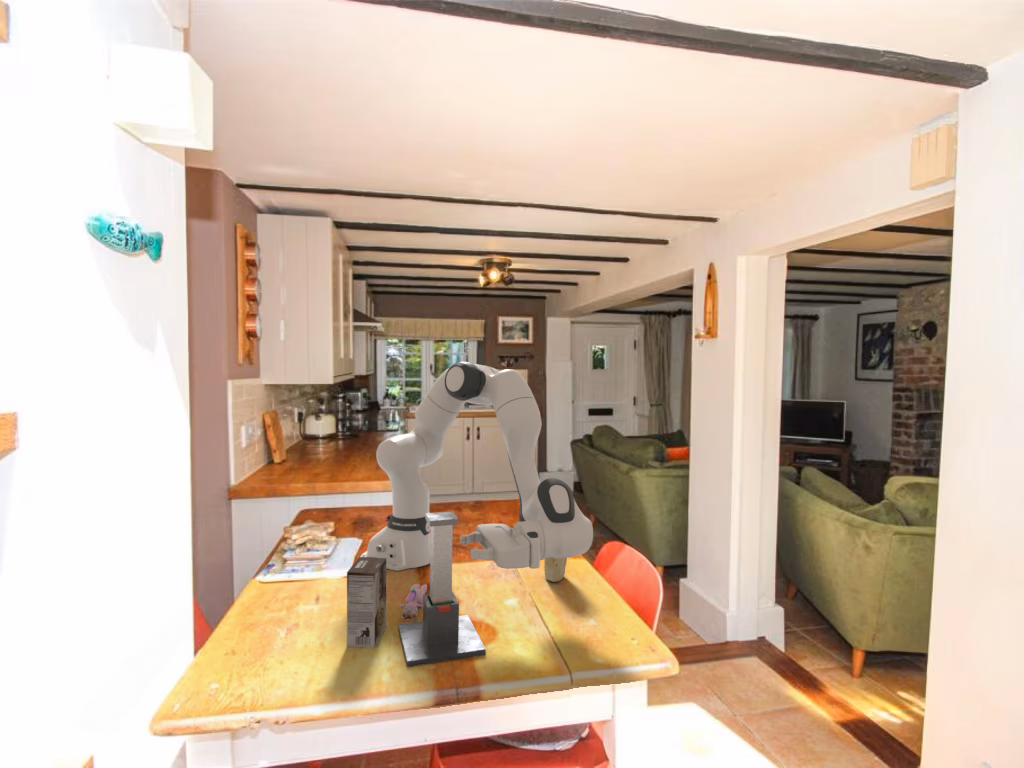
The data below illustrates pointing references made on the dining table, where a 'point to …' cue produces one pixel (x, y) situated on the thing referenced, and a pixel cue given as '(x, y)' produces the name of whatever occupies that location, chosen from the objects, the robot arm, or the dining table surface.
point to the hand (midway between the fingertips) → (465, 546)
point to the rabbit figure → (413, 601)
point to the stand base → (439, 635)
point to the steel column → (441, 556)
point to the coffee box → (366, 602)
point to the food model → (554, 568)
